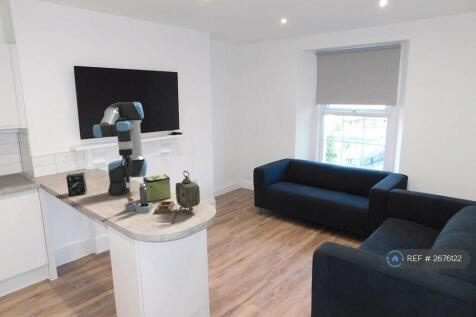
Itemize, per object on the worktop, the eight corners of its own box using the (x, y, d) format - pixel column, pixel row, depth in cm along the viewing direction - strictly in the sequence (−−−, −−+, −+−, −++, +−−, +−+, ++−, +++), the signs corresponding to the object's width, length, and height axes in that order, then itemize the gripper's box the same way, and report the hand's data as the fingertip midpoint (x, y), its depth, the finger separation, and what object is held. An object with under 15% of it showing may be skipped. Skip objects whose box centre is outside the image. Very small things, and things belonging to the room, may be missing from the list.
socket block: (130, 208, 198) (129, 200, 197) (154, 207, 199) (153, 200, 198) (123, 215, 187) (123, 207, 186) (149, 214, 187) (149, 206, 186)
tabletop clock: (176, 209, 195) (174, 169, 190) (189, 205, 200) (187, 167, 195) (188, 216, 184) (185, 174, 179) (201, 212, 189) (199, 171, 184)
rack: (159, 205, 202) (159, 201, 201) (175, 205, 202) (175, 200, 201) (153, 215, 186) (153, 210, 185) (170, 214, 186) (170, 210, 185)
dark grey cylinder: (142, 208, 194) (140, 183, 191) (148, 208, 194) (146, 183, 191) (140, 211, 190) (138, 185, 187) (147, 210, 190) (144, 185, 187)
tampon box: (87, 190, 237) (84, 171, 234) (85, 194, 228) (83, 174, 225) (70, 192, 233) (68, 173, 230) (68, 196, 225) (65, 176, 222)
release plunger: (128, 204, 194) (127, 196, 192) (135, 203, 194) (134, 196, 193) (126, 206, 190) (125, 198, 189) (133, 206, 190) (132, 198, 189)
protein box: (171, 199, 213) (169, 177, 210) (148, 203, 206) (146, 180, 203) (166, 195, 222) (165, 173, 219) (144, 199, 215) (142, 177, 212)
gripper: (122, 146, 191) (126, 184, 195) (114, 150, 178) (119, 190, 183) (135, 146, 191) (138, 184, 196) (128, 150, 178) (132, 190, 183)
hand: (129, 187), depth 189 cm, fingers closed
